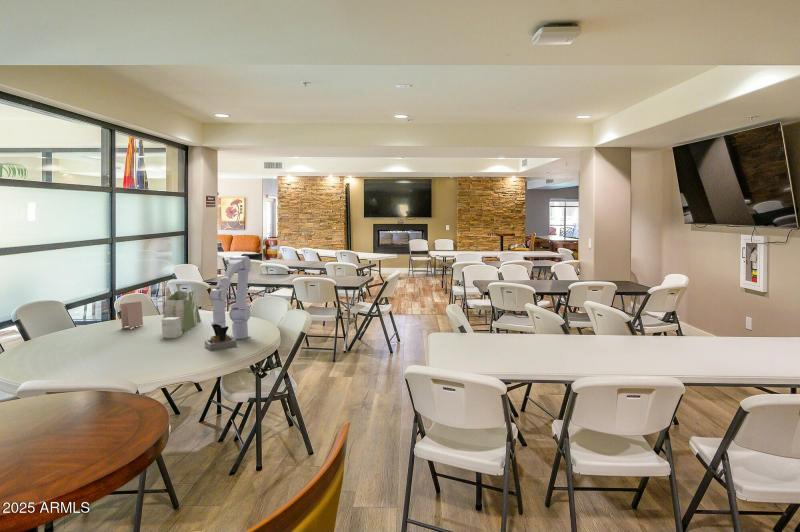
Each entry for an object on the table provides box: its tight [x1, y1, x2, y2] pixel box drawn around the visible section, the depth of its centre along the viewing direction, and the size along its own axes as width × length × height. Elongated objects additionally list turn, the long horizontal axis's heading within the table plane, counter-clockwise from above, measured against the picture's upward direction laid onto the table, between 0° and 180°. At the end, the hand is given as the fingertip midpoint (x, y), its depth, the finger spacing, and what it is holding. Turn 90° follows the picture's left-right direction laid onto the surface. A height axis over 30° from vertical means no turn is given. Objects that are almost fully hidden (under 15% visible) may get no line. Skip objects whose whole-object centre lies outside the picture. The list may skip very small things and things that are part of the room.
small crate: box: [210, 333, 231, 344], centre depth 248 cm, size 5×8×4 cm, turn 125°
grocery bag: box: [162, 288, 202, 333], centre depth 292 cm, size 32×14×23 cm, turn 9°
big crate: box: [204, 335, 238, 351], centre depth 248 cm, size 10×13×3 cm
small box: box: [160, 317, 183, 339], centre depth 268 cm, size 8×6×10 cm
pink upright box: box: [120, 300, 144, 329], centre depth 292 cm, size 11×7×15 cm, turn 133°
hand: (220, 339), depth 247 cm, fingers open, 7 cm apart
